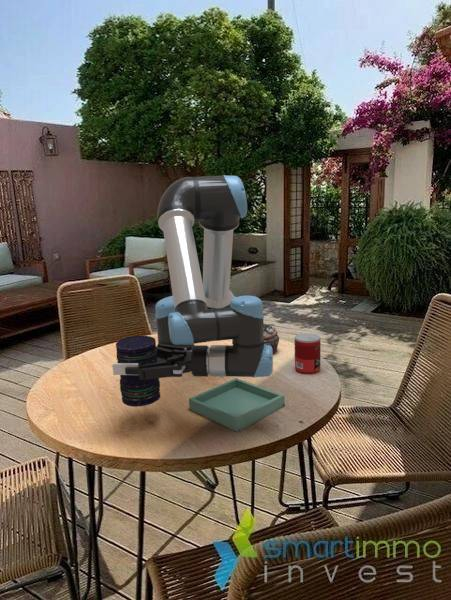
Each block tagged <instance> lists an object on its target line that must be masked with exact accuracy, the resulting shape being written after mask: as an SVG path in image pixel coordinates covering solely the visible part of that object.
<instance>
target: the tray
mask: <svg viewBox="0 0 451 600" xmlns="http://www.w3.org/2000/svg"><path fill="white" fill-rule="evenodd" d="M188 405H189V407H188V408H189V410H190V411H193V412H194V413H197V414H199V415H201V416H204V417H205V418H207V419H209V420H211V421H214V422H215V423H218V424H220V425H221V426H225V427H226V428H229V429H231V430H232V431H235V432H236V433H237V432H240V431H242V430H244V429H245V428H247V427H248V426H251V425H252V424H255V423H256V422H258V421H259V420H261V419H263V418H265V417H267V416H268V415H270V414H272V413H274V412H276V411H277V410H279V409H281V408H284V407H285V394H282V393H279V392H277V391H273V390H271V389H268V388H265V387H262V386H260V385H257V384H253V383H251V382H248V381H247V380H243V379H239V378H238V377H236V378H233V379H230V380H228V381H225V382H224V383H221V384H220V385H217V386H215V387H213V388H210V389H208V390H206V391H203V392H201V393H199V394H197V395H195V396H192V397H190V398H188Z"/></svg>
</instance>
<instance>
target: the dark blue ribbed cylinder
mask: <svg viewBox="0 0 451 600" xmlns="http://www.w3.org/2000/svg"><path fill="white" fill-rule="evenodd" d="M156 343H157V342H156V338H155V337H153V336H149V335H131V336H128V337H124V338H121V339H119V340H117V341H116V343H115V348H116V360H117V362H116V363H139V362H140V363H141V365H144V364H149V363H154V362H157V359H158V357H157V349H156V346H157V344H156ZM119 376H120V379H119V389H120V393H121V402H122V403H123V404H124V405H125V406H128V407H136V408H139V407H145V406H150V405H152V404H155V403H156V402H158V401H159V400H160V398H161V382H160V378H156V379H146V380H140V377H139V375H119Z"/></svg>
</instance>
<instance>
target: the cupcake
mask: <svg viewBox="0 0 451 600" xmlns="http://www.w3.org/2000/svg"><path fill="white" fill-rule="evenodd" d="M263 327H264V345H269V346H271V347H272V349H273V356H274V355H276V354H277V352H278V346H279V342H280V336H279V335H278V333H279V332H278V331H277V330H276V326H275V324H271V323H270V324H266V323H263Z"/></svg>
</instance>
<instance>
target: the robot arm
mask: <svg viewBox="0 0 451 600" xmlns="http://www.w3.org/2000/svg"><path fill="white" fill-rule="evenodd" d="M247 214H248V201H247V195H246V189H245V186H244V183H243V181H242V180H241V178H240V177H239V176H237V175H225V174H223V175H210V176H209V175H208V176H186V177H181V178H179V179H177V180H175V181H173V182H172V183H171V184H170V185H169V186H168V188H167V189H165V191H164V193H163V194H162V196H161V198H160V200H159V203H158V207H157V213H156V215H157V224H158V227H159V229H160V230H161V231H162V232H163V237H164V245H165V251H166V258H167V265H168V272H169V278H170V287H171V291H172V295H170V296H167V297H164V298H162V299H160V300H158V301H157V302H156V304H155V316H154V318H155V319H156V333H157V344H156V349H157V357H158V359H157V362H154V363H149V364H144V365H141V363H140V362H139V363H117V362H112V373H113V374H112V375H113V376H120V375H139V377H140V380H146V379H156V378H159V379H164V378H181V377H183V373H187V372H191V374H192V376H193V377H208V376H210V377H219V378H221V379H223V378H224V377H236V378H238V377H243V378H245V377H246V378H263V377H264V378H265V377H269V376H271V375H272V374H273V372H274V370H273V369H274V360H273V358H274V355H273V349H272V347H271V346H269V345H264V327H263V324H264V318H265V315H264V308H263V301H262V300H261V298H259V297H258V296H254V295H239V296H235V295H234V294H233V292H232V291H231V290H230V285H231V274H232V273H231V271H232V270H231V268H232V259H233V258H232V255H233V241H234V230H236V229H237V228H238V227H239V225H240V219H243V218H246V216H247ZM195 221H198V224H199V226H201V228H203V254H202V256H203V259H202V262H203V263H202V273H201V269H200V262H199V257H198V251H197V247H196V246H197V245H196V241H195V236H194V231H193V226H194V225H195ZM227 340H231V342H232V343H231V344H230V345H228V344H211V345H210V346H209V345H207V344H205V345H204V344H203V345H196V344H200V343H209V342H218V341H219V342H220V341H227Z"/></svg>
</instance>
